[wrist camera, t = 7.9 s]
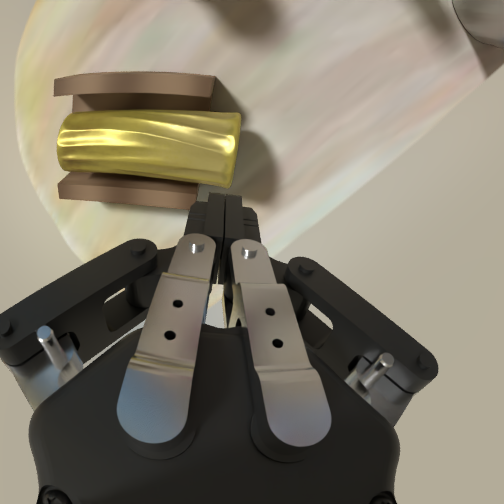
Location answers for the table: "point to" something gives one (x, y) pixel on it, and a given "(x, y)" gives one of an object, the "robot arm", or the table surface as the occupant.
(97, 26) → the table surface
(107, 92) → the u rest
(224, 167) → the vase
